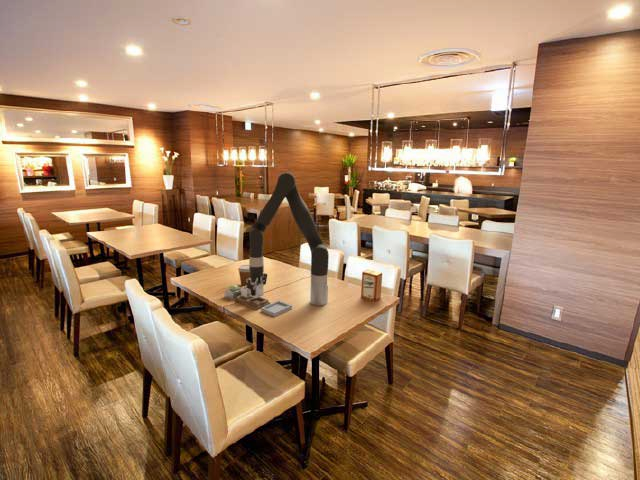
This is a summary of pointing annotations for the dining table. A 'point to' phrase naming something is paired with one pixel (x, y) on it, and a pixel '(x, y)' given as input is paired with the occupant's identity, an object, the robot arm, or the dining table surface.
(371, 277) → the baking soda box
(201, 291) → the dining table surface
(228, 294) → the grey button housing
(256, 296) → the block
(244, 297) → the block
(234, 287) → the button
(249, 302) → the frame
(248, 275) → the disposable coffee cup
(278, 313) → the tray
